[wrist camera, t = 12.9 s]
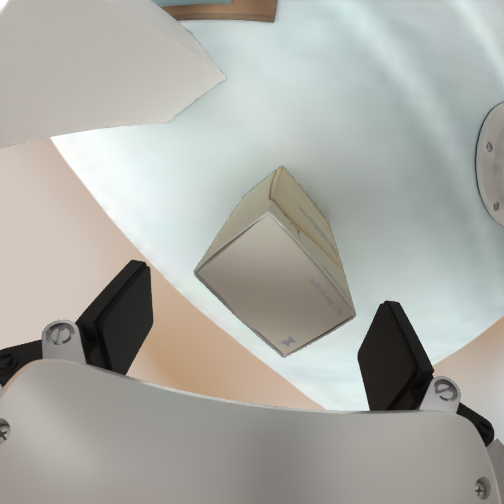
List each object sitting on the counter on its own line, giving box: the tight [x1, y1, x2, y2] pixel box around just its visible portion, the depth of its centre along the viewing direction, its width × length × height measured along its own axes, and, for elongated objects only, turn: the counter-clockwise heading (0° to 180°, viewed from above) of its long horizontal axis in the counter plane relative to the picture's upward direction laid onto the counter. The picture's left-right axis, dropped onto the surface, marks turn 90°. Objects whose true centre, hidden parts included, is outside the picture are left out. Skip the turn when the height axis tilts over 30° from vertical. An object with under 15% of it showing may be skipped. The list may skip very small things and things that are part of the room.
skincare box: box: [194, 166, 356, 358], centre depth 17 cm, size 6×4×12 cm
